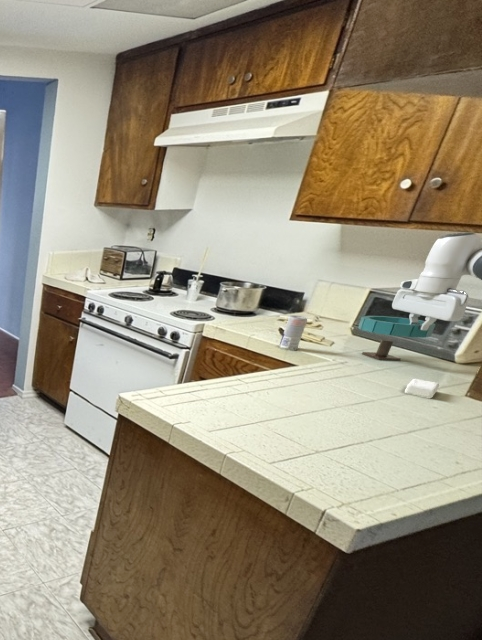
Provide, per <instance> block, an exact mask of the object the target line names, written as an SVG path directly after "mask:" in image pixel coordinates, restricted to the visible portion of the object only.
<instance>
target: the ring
mask: <svg viewBox="0 0 482 640" xmlns="http://www.w3.org/2000/svg"><path fill="white" fill-rule="evenodd" d="M425 321H426V320H421V319H418V323H420V324H423V323H424V322H425ZM420 324H410V318H408V317H400V316H387V315H364V316H361V318H360V321H359V324H358V327H357V328H358V329H359V330H361V331H364V332H367V333H368V332H369V333H373V334H379V335H385V336H392V337H394V336H395V337H403V338H421V339H422V338H430V337H432V334H433V332H434V330H435V328H436V325H437V324H436V323H435V322H434V323H432V324H431V325H430V326H429V328H428V330H419V329H418V327H419V325H420Z"/></svg>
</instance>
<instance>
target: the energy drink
mask: <svg viewBox="0 0 482 640" xmlns="http://www.w3.org/2000/svg"><path fill="white" fill-rule="evenodd" d="M307 322H308V317H307V316H303V315H289V316H288V318H287V322H286V324H285V328H284V330H283V332H282V333H283V334H282V336H281V339H280V342H279V345H278V347H279V348H280V349H282V350H287V351H288V350H289V351H296V350H298V347H299V345H300V342H301V339H302V337H303V335H304V330H305V328H306V325H307Z"/></svg>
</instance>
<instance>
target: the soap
mask: <svg viewBox="0 0 482 640" xmlns="http://www.w3.org/2000/svg"><path fill="white" fill-rule="evenodd" d="M439 387H440V383H438V382H434V381H428V380H425V379H424V380H423V379H418V378H413V379H412V380H411V381H410V382H409V383H408V384H407V385H406V387H405V390H404V394H407V395H408V394H409V395H410V396H417V397H420V398H421V397H422V398H425V399H432V398H433V397H434V396H435V394H436V393H437V391H438V389H439Z"/></svg>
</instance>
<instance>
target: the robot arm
mask: <svg viewBox="0 0 482 640" xmlns="http://www.w3.org/2000/svg"><path fill="white" fill-rule="evenodd" d="M424 265H425V266H424V268H423V270H422V271H421V273H420V274H419V277H418V278H415V279H408V280H403V281H401V282H400V284H399V288H400V289H398V290H397V292H396V293H395V296H394V298H393V300H392V303H391V308H392V309H393V310H395V311H400V312H405V313H409V315H408V317H409V318H408V319H410V324H420V323H418V320H419V318H420V317H421V316H422V317H425V318H424V321H425V322H424V323H423V324H420V325H419V327H418V329H419V330H428V328H429V326H430V325H431V324H432V323H434V324H435V322H436V321H437V320H442V321H445V322H460V320H462V319H463V318H464V316H465V313H466V309H467V306H468V299H469V294H468V292H466V291H465V290H461V289H457V288H458V285H459V283H460V281H461V279H462V277H463V276H471V277H474V278H476V279H479V280H480V281H482V237H481V236H479V235H477V233H475V232H455V233H449V234H445V235H441V236H440V237H439V238H437V240H436V241H435V242H434V244H433V245H432V246H431V248H430V251H429V252H428V254H427V256H426V259H425V263H424Z"/></svg>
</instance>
